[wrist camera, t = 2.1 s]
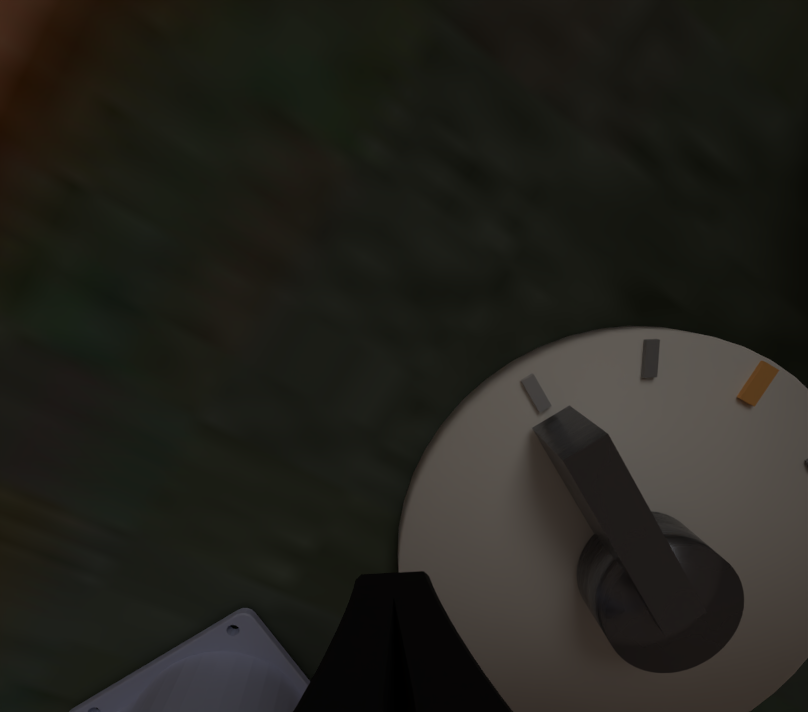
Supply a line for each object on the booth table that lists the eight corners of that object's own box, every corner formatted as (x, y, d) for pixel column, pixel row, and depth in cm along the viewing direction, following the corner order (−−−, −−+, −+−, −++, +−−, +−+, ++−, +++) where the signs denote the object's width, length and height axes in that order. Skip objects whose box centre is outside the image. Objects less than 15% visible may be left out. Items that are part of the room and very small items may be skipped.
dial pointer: (718, 583, 20) (779, 640, 17) (611, 645, 20) (652, 711, 17) (609, 381, 18) (656, 404, 15) (492, 451, 18) (515, 488, 15)
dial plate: (530, 791, 23) (542, 832, 22) (309, 484, 20) (303, 504, 18) (885, 595, 22) (926, 621, 21) (722, 233, 19) (756, 230, 17)
